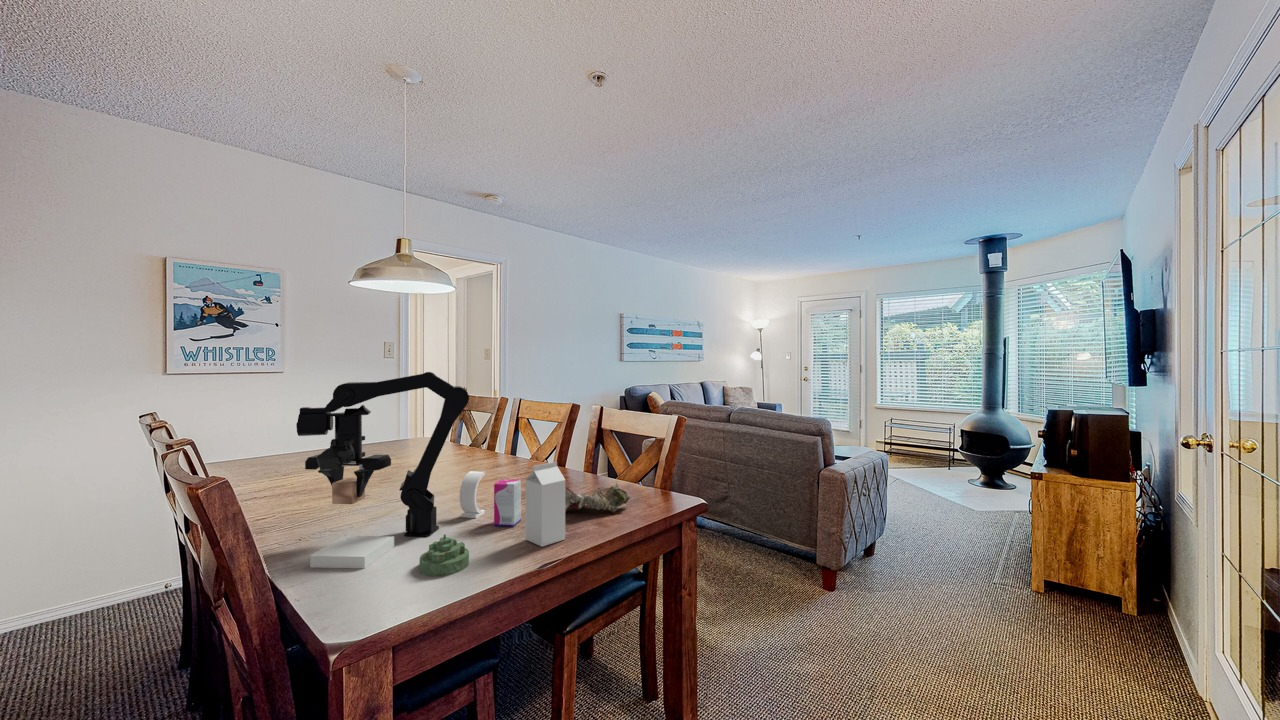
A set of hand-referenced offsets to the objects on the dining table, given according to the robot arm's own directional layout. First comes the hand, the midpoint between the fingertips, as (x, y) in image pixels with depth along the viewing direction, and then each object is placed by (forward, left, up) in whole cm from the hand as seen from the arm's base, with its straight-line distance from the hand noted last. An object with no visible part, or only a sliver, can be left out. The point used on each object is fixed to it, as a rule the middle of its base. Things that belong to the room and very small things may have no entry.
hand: (348, 496), depth 122 cm
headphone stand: (-23, -21, -11) cm, 33 cm away
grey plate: (-7, +9, -11) cm, 16 cm away
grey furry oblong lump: (-56, -27, -11) cm, 63 cm away
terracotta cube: (0, 0, -1) cm, 1 cm away
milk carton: (-48, -2, -11) cm, 50 cm away
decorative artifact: (-30, +14, -11) cm, 35 cm away
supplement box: (-35, -14, -11) cm, 40 cm away
